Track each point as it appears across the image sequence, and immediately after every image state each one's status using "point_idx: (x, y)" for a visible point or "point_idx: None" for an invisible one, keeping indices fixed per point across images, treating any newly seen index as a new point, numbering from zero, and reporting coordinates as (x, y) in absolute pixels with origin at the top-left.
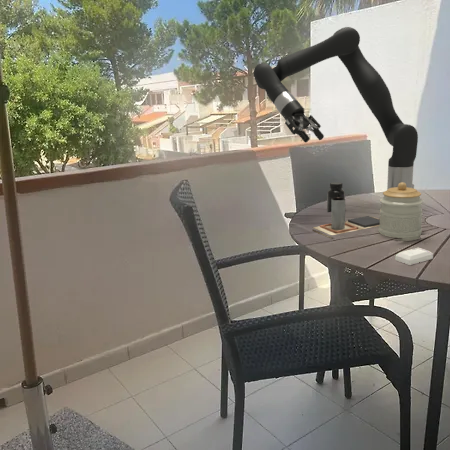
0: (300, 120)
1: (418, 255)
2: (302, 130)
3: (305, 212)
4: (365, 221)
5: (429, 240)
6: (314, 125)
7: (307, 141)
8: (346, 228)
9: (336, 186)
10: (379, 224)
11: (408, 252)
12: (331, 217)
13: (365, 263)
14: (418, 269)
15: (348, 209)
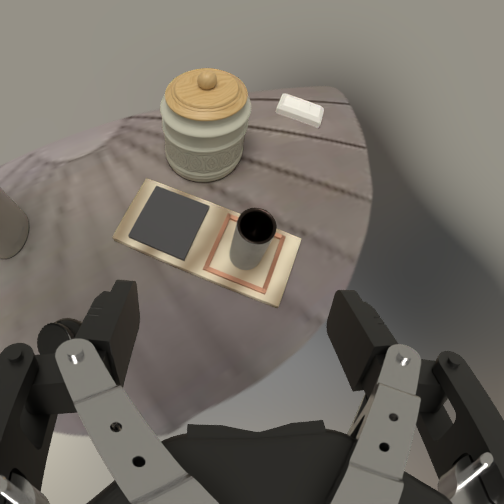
0: (395, 461)
1: (307, 101)
2: (397, 344)
3: None
4: (177, 218)
5: None
6: (97, 384)
7: (332, 314)
8: None
9: (72, 335)
10: (220, 167)
11: (310, 109)
12: (261, 257)
13: (355, 153)
14: (326, 105)
15: None
